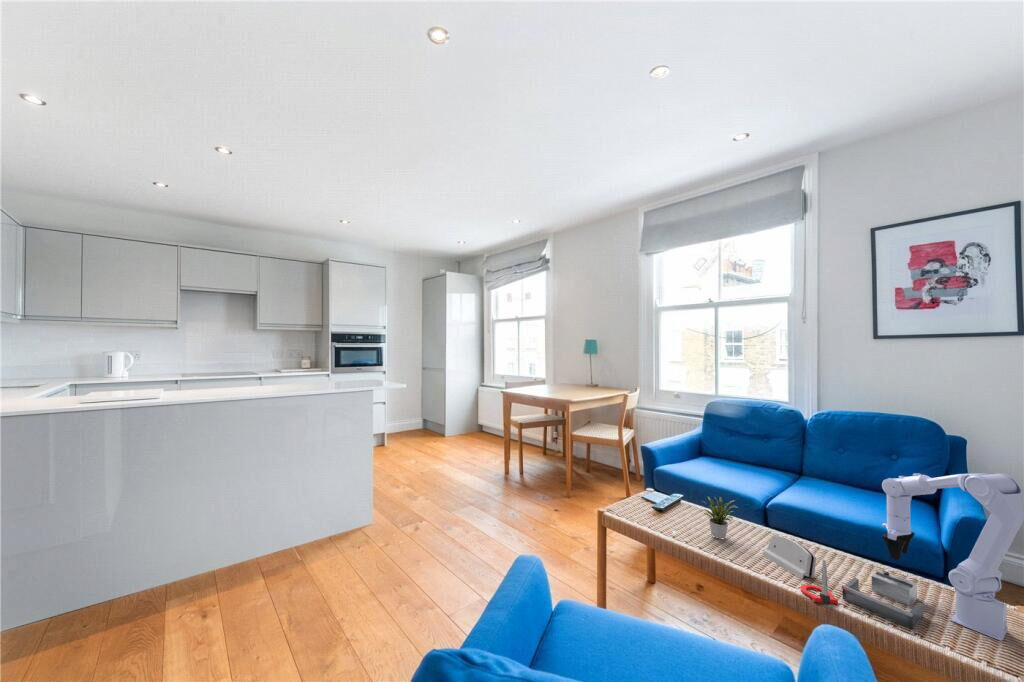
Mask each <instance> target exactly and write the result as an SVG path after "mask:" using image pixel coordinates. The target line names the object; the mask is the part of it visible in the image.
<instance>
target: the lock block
mask: <svg viewBox="0 0 1024 682" xmlns="http://www.w3.org/2000/svg"><path fill="white" fill-rule="evenodd" d="M871 591H872V592H874V593H877V594H878V595H881V596H883V597H886V598H888V599H890V600H894V601H896V602H898V603H900V604H903V605H906V606H908V607H910V606H912V605H913V603H914V602H915V601H916V600H917V599H918V584H917V582H914V581H912V580H909V579H906V578H904V577H902V576H898V575H895V574H893V573H890V572H889V571H887V570H881V569H879V570H878V571H876V572H875V573H874V574H872V575H871Z"/></svg>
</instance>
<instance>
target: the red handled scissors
mask: <svg viewBox="0 0 1024 682" xmlns="http://www.w3.org/2000/svg"><path fill="white" fill-rule="evenodd" d="M826 564H827V563H826V560H825V559H822V566H821V586H817V585H815V584H803V585H801V586H800V592H801V593H802V594H804V595H805V596H806V597H808V598H810V599H811V600H812V602H813V603H821V604H825V605H826V604H827V605H838V604H839V600H838V599H837V598H835V597H834V595H833V593H832V592H830V591H829V590H828V573H827V572H828V571H827V565H826ZM808 590H814V591H818V592H819V596H818V595H815V594H813V593H811V592H809V591H808Z"/></svg>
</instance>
